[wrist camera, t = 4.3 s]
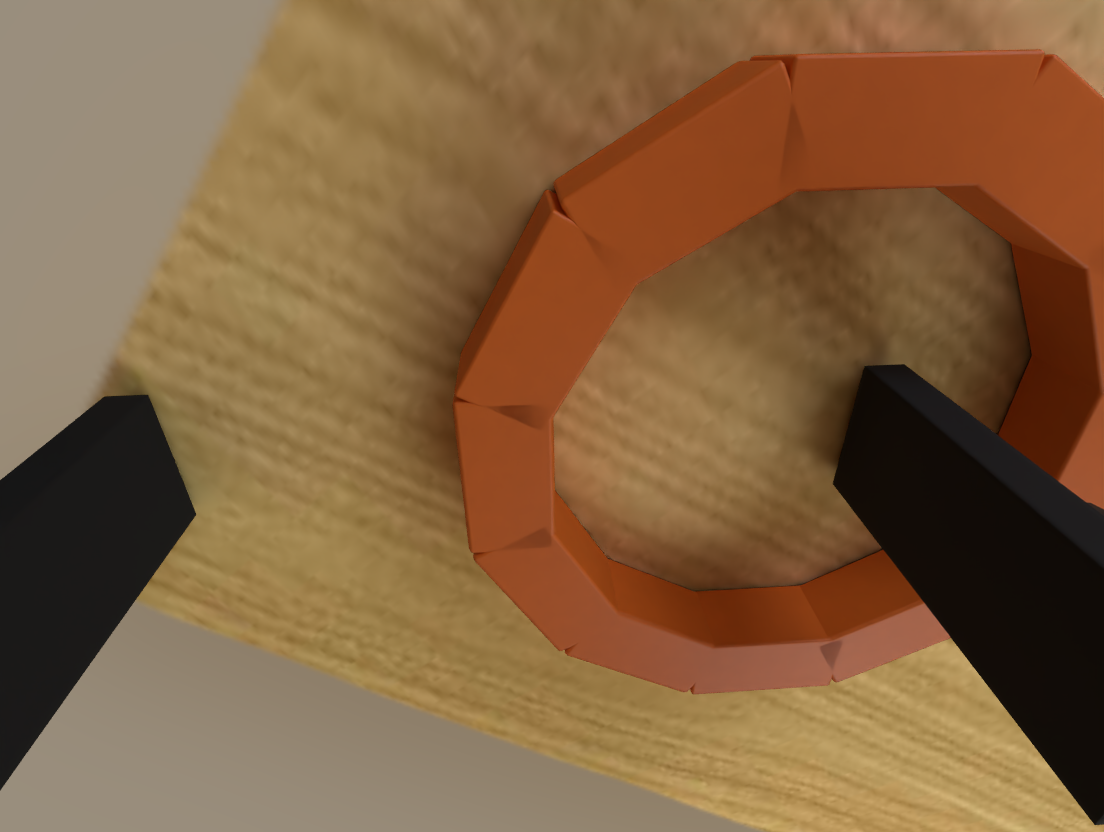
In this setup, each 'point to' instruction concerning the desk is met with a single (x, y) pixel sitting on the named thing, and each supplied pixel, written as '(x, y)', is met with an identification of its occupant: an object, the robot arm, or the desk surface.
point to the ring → (710, 211)
